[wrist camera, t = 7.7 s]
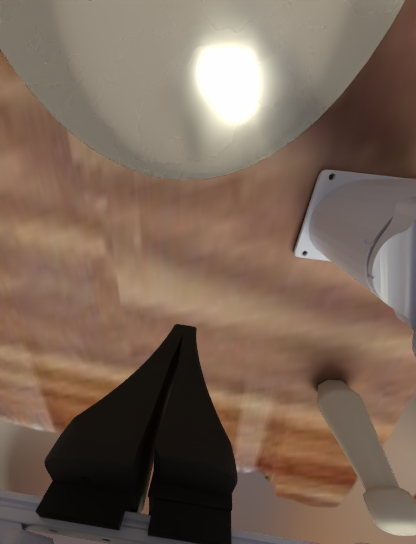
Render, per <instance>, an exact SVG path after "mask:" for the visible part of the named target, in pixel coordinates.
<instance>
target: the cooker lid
mask: <svg viewBox="0 0 416 544" xmlns="http://www.w3.org/2000/svg"><path fill="white" fill-rule="evenodd" d="M404 2H405V0H0V49H1V51H2V52H3V54H4V55H5V57H6V58H7V60H8V62H9V63H10V65H11V66H12V67H13V69H14V70H15V71H16V73H17V74H18V75H19V77H20V78H21V79H22V81H23V82H24V83H25V84H26V86H27V87H28V88H29V90H30V91H31V92H32V94H33V95H34V96H35V97H36V98H37V99H38V100H39V101H40V102H41V104H42V105H43V106H44V107H45V108H46V109H47V110H48V111H49V112H50V113H51V115H52V116H53V117H54V118H55V119H56V120H58V121H59V122H60V123H61V124H62V125H63V126H64V127H65V128H66V129H68V130H69V131H70V132H71V133H72V134H73V135H74V136H75V137H77V138H78V139H79V140H81V141H82V142H83V143H85V144H86V145H88V146H89V147H90V148H92V149H93V150H94V151H96V152H97V153H99V154H101V155H103V156H105V157H106V158H108V159H110V160H112V161H113V162H115V163H117V164H119V165H122V166H124V167H127V168H129V169H132V170H134V171H137V172H139V173H143V174H147V175H151V176H155V177H159V178H167V179H176V180H200V179H209V178H214V177H220V176H225V175H228V174H231V173H234V172H237V171H239V170H242V169H245V168H247V167H249V166H251V165H253V164H255V163H257V162H259V161H261V160H263V159H265V158H267V157H269V156H271V155H272V154H274V153H275V152H277V151H278V150H280V149H281V148H282V147H284V146H285V145H287V144H288V143H290V142H291V141H293V140H294V139H295V138H297V137H298V136H299V135H300V134H301V133H302V132H304V131H305V130H306V129H307V128H308V127H310V126H311V125H312V124H313V123H314V122H315V121H317V120H318V119H319V118H320V117H321V115H322V114H323V113H324V112H325V111H326V110H327V109H328V108H329V107H330V106H331V105H332V104H333V103H334V102H335V101H336V100H337V99H338V98H339V97H340V96H341V95H342V93H343V92H344V91H345V90H346V88H347V87H348V86H349V84H350V83H351V82H352V81H353V79H354V78H355V77H356V76H357V74H358V73H359V72H360V71H361V69H362V68H363V67H364V66H365V64H366V63H367V62H368V60H369V58H370V57H371V55H372V54H373V52H374V51H375V49H376V48H377V46H378V45H379V43H380V42H381V40H382V39H383V37H384V36H385V34H386V33H387V31H388V30H389V28H390V27H391V25H392V23H393V22H394V20H395V18H396V16H397V14H398V13H399V11H400V9H401V7H402V5H403V4H404Z"/></svg>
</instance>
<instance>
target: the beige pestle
mask: <svg viewBox="0 0 416 544" xmlns="http://www.w3.org/2000/svg"><path fill="white" fill-rule="evenodd" d="M317 405H318V408H319V410H320V412H321V414H322V416H323V417H324V419H325V421H326V423H327V424H328V426H329V428H330V429H331V431H332V433H333V435H334V436H335V438H336V440H337V441H338V443H339V445H340V447H341V448H342V450H343V452H344V454H345V455H346V457H347V459H348V460H349V462H350V464H351V466H352V467H353V469H354V471H355V472H356V474H357V476H358V478H359V479H360V481H361V483H362V484H363V486H364V488H365V490H366V492H365V493H364V494H363V496H364V500H365V503H366V506H367V508H368V511H369V513H370V515H371V517H372V518H373V520H374V522H375V524H376V525H377V526H378V527H379V528H381V529H382V530H383V531H386V532H388V533H391V534H394V535H401V536H408V535H416V501H415V500H414V498H413V497H412V496H411V494H410V493H409V492H407V491H405V490H404V489H402V488H400V487H399V485H398V483H397V480H396V478H395V476H394V473H393V471H392V469H391V466H390V464H389V461H388V459H387V457H386V455H385V452H384V450H383V447H382V445H381V443H380V440H379V438H378V436H377V433H376V431H375V429H374V426H373V424H372V422H371V419H370V417H369V414H368V412H367V409H366V407H365V404H364V402H363V400H362V398H361V397H360V395H359V394H357V393H356V392H355V391H353V390H352V389H351V388H350V387H348V386H347V385H346V384H345V383H344V382H343V381H341V380H329V379H328V380H326V381H324V382H323V383H321V384H319V385H318V395H317Z"/></svg>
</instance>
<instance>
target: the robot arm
mask: <svg viewBox="0 0 416 544" xmlns="http://www.w3.org/2000/svg"><path fill="white" fill-rule="evenodd" d="M330 174H333V178H332V179H331V180H329V175H330ZM303 251H306V253H305V254H302V253H303ZM294 255H295V256H296V257H302V258H309V259H317V260H325V261H332V262H333V263H334V264H335V265H337V266H338V267H339V268H341V269H342V270H343V271H345V272H346V273H347V274H349V275H350V276H351V277H352V278H354V279H355V280H356V281H358V282H359V283H360V284H362V285H363V286H364V287H366V288H367V289H368V290H370V291H371V292H372V293H373V294H375V295H376V296H377V297H379V298H380V299H381V300H382V301H384V302H385V303H386V304H388V305H389V306H390V307H392V308H393V309H394V310H395V314H396V317H398V318H399V319H400V320H401V321H403V322H404V323H405V324H406V325H408V326H409V327H410V328H412V329H413V330H414V334H413V339H412V349H413V352H414V355H415V358H416V179H409V178H400V177H391V176H382V175H373V174H364V173H355V172H346V171H338V170H329V169H328V170H323V171H321V172H320V174H319V175H318V179H317V182H316V185H315V188H314V191H313V194H312V197H311V200H310V203H309V206H308V209H307V212H306V215H305V218H304V221H303V224H302V228H301V231H300V234H299V237H298V240H297V243H296V246H295V249H294ZM153 462H154V472H153V476H152V480H151V484H150V488H149V492H148V497H149V515H146V514H140V513H141V511H142V510H143V508H144V503H145V499H146V493H147V489H148V485H149V480H150V475H151V471H152V467H153ZM45 467H46V469H47V471H48V473H49V474H50V476H51V478H52V480H53V481H52V483H51V485H50V486H49V488H48V490H47V492H46V493H45V495H44V497H39V496H33V495H27V494H21V493H15V492H9V491H2V490H0V544H53V539H52V538H49V537H46V536H43V535H39V534H36V533H33V532H30V531H27V530H34V531H39V532H45V533H51V534H57V535H63V536H68V537H75V538H80V539H86V540H92V541H99V542H104V543H110V544H318V543H313V542H306V541H301V540H294V539H289V538H283V537H277V536H271V535H265V534H259V533H253V532H247V531H241V530H235V529H231V510H232V492H233V490H234V488H235V486H236V484H237V470H236V464H235V459H234V454H233V450H232V447H231V443H230V440H229V438H228V436H227V434H226V432H225V430H224V428H223V426H222V424H221V422H220V420H219V417H218V415H217V413H216V411H215V408H214V406H213V403H212V401H211V398H210V395H209V393H208V390H207V387H206V384H205V381H204V377H203V374H202V370H201V366H200V362H199V357H198V351H197V343H196V327H192V326H186V325H180V324H176V325H174V327H173V329H172V330H171V332H170V333H169V335H168V336H167V337H166V339H165V340H164V341H163V343H162V344H161V345H160V346H159V348H158V349H157V350H156V351H155V352H154V353H153V354H152V355H151V357H150V358H149V359H148V360H147V361H146V362H145V363H144V364H143V365H142V366H141V367H140V368H139V369H138V370H137V371H136V372H134V373H133V374H132V375H131V376H130V377H129V378H128V379H127V380H125V381H124V382H123V383H122V384H121V385H119V386H118V387H117V388H116V389H114V390H113V391H112V392H110V393H109V394H108V395H106V396H105V397H104V398H102V399H101V400H100V401H98V402H97V403H95V404H94V405H92V406H91V407H89V408H88V409H86V410H85V411H83V412H82V413H81V414H79V415H77V416H76V417H75V418H74V419H73V420H72V421H71V422H70V424H69V425H68V426H67V427H66V429H65V430H64V431H63V433H62V434H61V435H60V437H59V438H58V440H57V441H56V443H55V445H54V446H53V448H52V449H51V451H50V452H49V454H48V456H47V457H46V459H45ZM26 529H27V530H26ZM356 544H368V543H356Z"/></svg>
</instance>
